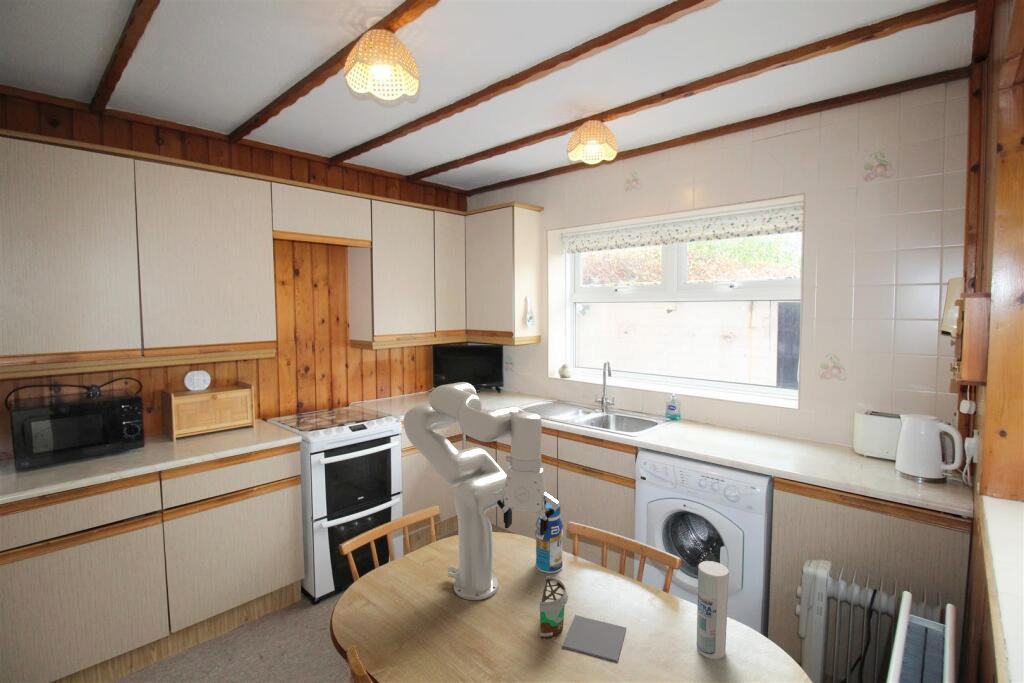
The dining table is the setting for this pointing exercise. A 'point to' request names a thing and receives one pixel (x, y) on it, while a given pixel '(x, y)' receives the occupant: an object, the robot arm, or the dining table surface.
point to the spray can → (712, 609)
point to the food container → (552, 608)
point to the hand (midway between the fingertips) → (525, 529)
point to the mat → (595, 638)
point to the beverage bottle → (549, 543)
